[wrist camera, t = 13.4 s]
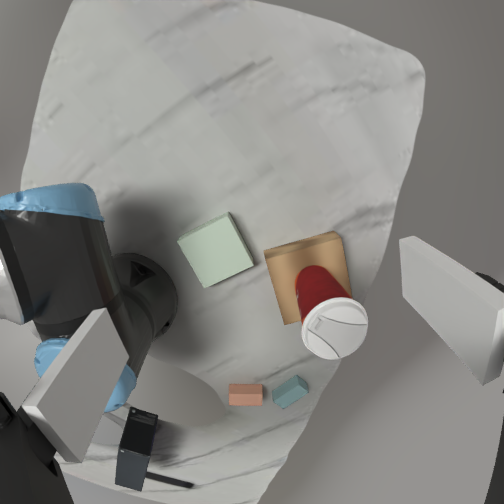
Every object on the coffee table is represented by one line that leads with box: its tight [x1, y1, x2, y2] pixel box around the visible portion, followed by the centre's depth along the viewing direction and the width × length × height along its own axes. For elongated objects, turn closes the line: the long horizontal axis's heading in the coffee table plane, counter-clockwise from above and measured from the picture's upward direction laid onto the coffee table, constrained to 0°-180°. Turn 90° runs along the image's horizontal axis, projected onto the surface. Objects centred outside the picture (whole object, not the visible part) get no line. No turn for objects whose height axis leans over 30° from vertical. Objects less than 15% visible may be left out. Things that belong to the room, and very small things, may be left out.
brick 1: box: [229, 384, 263, 406], centre depth 56 cm, size 6×3×3 cm, turn 88°
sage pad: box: [177, 212, 254, 289], centre depth 47 cm, size 8×8×3 cm
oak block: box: [264, 231, 352, 325], centre depth 48 cm, size 11×11×4 cm
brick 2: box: [272, 375, 309, 409], centre depth 56 cm, size 6×3×3 cm, turn 133°
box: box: [115, 407, 158, 491], centre depth 56 cm, size 17×7×12 cm, turn 160°
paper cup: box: [295, 265, 368, 360], centre depth 40 cm, size 8×8×14 cm
